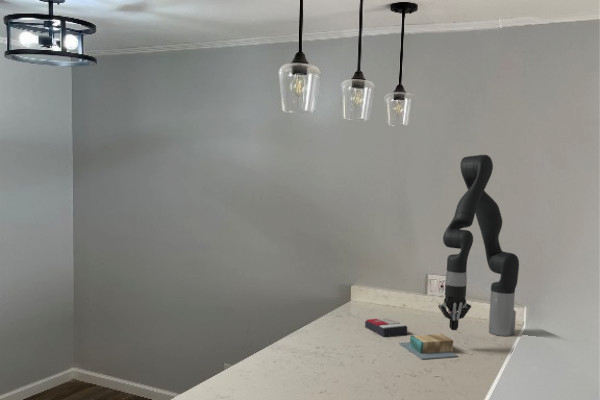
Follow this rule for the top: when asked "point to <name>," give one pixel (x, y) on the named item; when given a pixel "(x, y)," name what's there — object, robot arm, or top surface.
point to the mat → (428, 355)
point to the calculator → (386, 327)
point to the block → (431, 343)
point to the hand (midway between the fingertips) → (453, 329)
